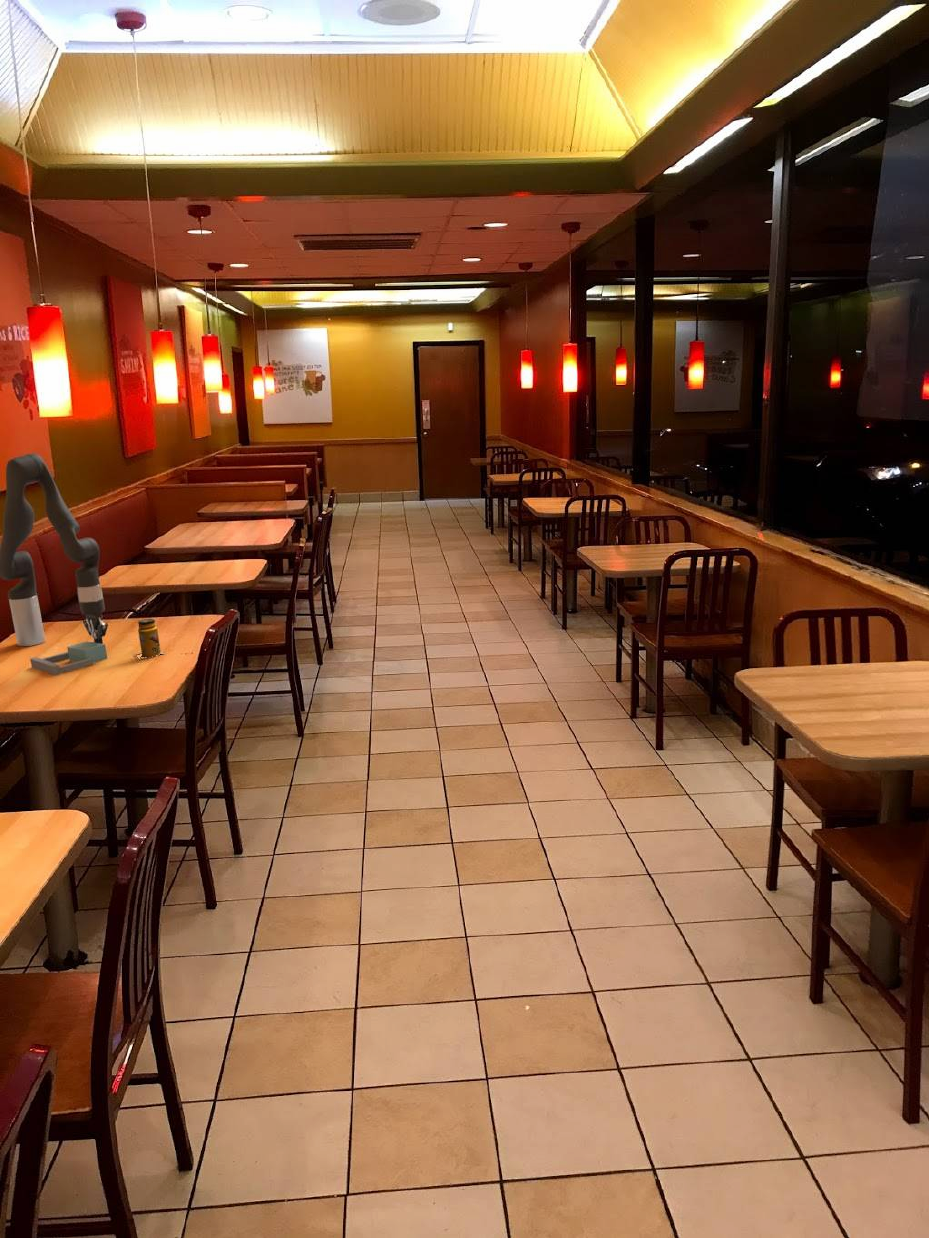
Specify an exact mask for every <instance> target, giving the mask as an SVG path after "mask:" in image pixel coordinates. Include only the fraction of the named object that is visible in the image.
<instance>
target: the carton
mask: <svg viewBox="0 0 929 1238" xmlns="http://www.w3.org/2000/svg"><path fill="white" fill-rule="evenodd" d="M66 648H67V649H66V650H67V652H68V655H69V659H68V660H69V662H70V663H74V662H78V661H82V660H85V659H89V658H92V659H93V664H95V663H98V662H101V661H104V660H107V659H108V655H107V647H106V643H103V644H101V643H95V642H94V641H88V640H86V641H83V642H79V643H77V644H72V645H70V646H67V647H66Z"/></svg>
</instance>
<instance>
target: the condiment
mask: <svg viewBox="0 0 929 1238" xmlns="http://www.w3.org/2000/svg"><path fill="white" fill-rule="evenodd" d="M137 624H138V630H137V631H138V638H139V644H140V645H139V646H140V649H141V653H136V654H133V656H134V658H136V657H137V655H140V654H142V656H141V657H144V658H141V657H140V659H139V658H138V657H137V658H136V659H137V660H139V661H140V660H145V657H148V658H153V657H152V656H155V657H157V656H156V655H159V654H164V653H163V652H162V651H161V643H160V638H159V632H158V627H157V626H156V620H155V619H154V618H143V619H140V620H139V621H138V623H137ZM148 658H147V659H148Z"/></svg>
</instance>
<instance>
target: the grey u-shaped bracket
mask: <svg viewBox="0 0 929 1238" xmlns="http://www.w3.org/2000/svg"><path fill="white" fill-rule="evenodd" d="M29 660H30V664H31V665H30V666H31V668H32V667H33V668H32V669H35V670H38V671H41V672H43V673H47V674H49V673H50V674H49V675H53V676H57V675H60V673H62V674H64V673H65V674H66V673H69V672H71V671H76V670H79V668H80V669H84V668H86V667H90V666H94V665H93V664H94V663H93V659H92V658H89V659H85V660H82V661H78V662H70V663H68V664H64V665H60V664H57V662H61V661H64V660H65V661H66V660H69V655H68V651H65V652H61V653H58V654H54V655H51V656H45V657H43V658H41V657H37V656H35V657H30V658H29Z"/></svg>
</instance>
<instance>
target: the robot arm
mask: <svg viewBox="0 0 929 1238" xmlns="http://www.w3.org/2000/svg"><path fill="white" fill-rule="evenodd" d="M5 467H6V468H5V484H6V485H5V486H6V490H5V493H6V494H5V495H6V496H5V506H4V508H5V509H4V514H3V522H2V523H3V524H2V525H3V526H2V535H1V536H2V537H1V542H0V578H1V579H2V580H5V581H12V580H17V579H20V581H19V582H18V583H17V584H16V585H15V586H14V587H13V586H12V587H11V588H10V589H9V590H8V591H7V597H8V601H9V607H10V611H11V617H12V623H13V627H14V628H13V629H14V632H15V638H16V644H17V646H19V647H30V646H36V645H39V644H43V643H45V642H46V637H45V631H44V625H43V621H42V620H43V619H42V615H41V609H40V603H39V599H38V598H39V597H38V593H37V582H36V576H35V575H36V574H35V569H34V568H35V567H34V561H33V559H32V556H31V554H30V553H29V552H28V551H26V550H21V551H18V549H20V547H21V546H22V544H23V543H24V542H25V541H26V540H27V539H28V538H29V537H30V535H31V534H32V532H33V529H34V523H35V522H34V521H35V511H34V508H33V507H32V506H31V504H30V503H29V501H28V500H27V499H26V498H25V489H26V486H28V485H30V484H35V483H39V485H40V486H41V488H42V490H43V493H44V497H45V512H46V515H47V519H48V521H49V522H50V524H51V526H52V527H53V528H54V530H55V531H56V533H57V534H58V536H59V540H60V541H61V542H60V543H61V546H62V549H63V552H64V554H65V556H66V557H67V558H68V559H69V560H70V561H72V562H73V563H80V562H81V566H79V568H77V569H76V570H75V573H74V575H75V580H76V586H77V597H78V603H79V609H80V614H82V615H85V619H83V620H82V624H83V625H84V628H85V629H86V631H87V633H88V635H89V637H90V636H91V638H92V639H93V642H95V643H101V644H104V643H103V637H105V636H106V634H107V630H108V627H109V624H108V622H104V618H103V617H104V616H103V614H102V613H103V612H104V611H105V609H106V608H105V601H104V600H105V599H104V597H103V595H104V594H103V590H102V589H103V588H102V586H101V584H100V583H101V582H100V577H99V572H98V571H99V563H100V546H99V545H98V542H97V541H96V540H95V539H93V538H91V537H84V538H81V539H79V538H77V535H76V534H79V532H80V530H81V529H80V528H81V527H80V524H79V523H78V521H77V520H76V519H75V516H74V515H73V514H72V512H71V511H70V509H69V508H68V506H67V505H66V503H65V501H64V499H63V497H62V495H61V493H60V491H59V488H58V487H57V484H56V482H55V480H54V478H53V475H52V473H51V471H50V470H49V467H48V465H47V464H46V462H45V461H44V459H43V458H42V457H41V456H40V455H39V454H38V453H28V454H24V455H23V454H22V455H20V456H15V457H13V458H11V459H9V460H8V461H7V463H6V466H5Z"/></svg>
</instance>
